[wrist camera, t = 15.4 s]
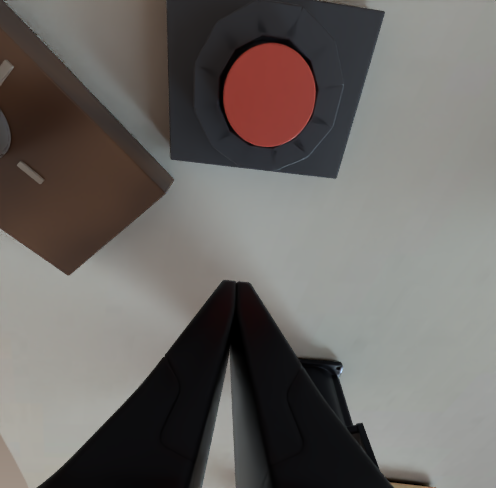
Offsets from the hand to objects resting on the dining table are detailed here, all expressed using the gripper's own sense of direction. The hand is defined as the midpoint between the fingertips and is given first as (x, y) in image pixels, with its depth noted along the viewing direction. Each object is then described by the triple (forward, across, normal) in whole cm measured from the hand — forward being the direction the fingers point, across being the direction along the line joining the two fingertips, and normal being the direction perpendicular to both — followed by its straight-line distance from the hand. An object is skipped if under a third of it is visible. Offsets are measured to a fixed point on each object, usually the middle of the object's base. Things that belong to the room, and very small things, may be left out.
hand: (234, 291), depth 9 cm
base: (+12, +12, 0) cm, 17 cm away
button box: (+12, -1, -5) cm, 13 cm away
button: (+9, -1, -5) cm, 10 cm away
